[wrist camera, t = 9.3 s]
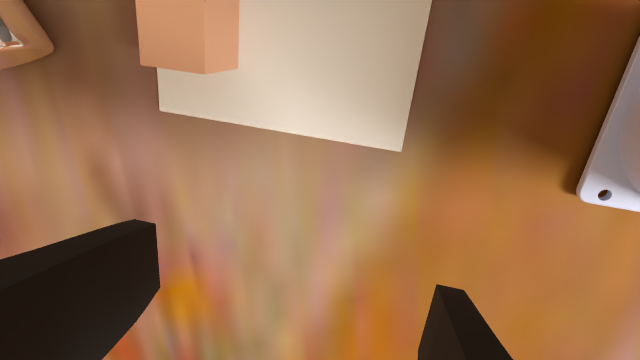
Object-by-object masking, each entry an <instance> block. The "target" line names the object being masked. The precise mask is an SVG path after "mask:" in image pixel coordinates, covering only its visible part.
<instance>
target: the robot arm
mask: <svg viewBox="0 0 640 360" xmlns="http://www.w3.org/2000/svg"><path fill="white" fill-rule="evenodd" d="M602 190H608V191H607V194H606V195H605V196H603V197H598V194H599V192H600V191H602ZM576 194H577V196H578V197H579V198H580V199H581V200H582V201H584V202H587V203H591V204H597V205H603V206H608V207H614V208H620V209H625V210H631V211H637V212H640V36H639V38H638V41H637V43H636V46H635V48H634V51H633V53H632V55H631V58H630V60H629V63H628V65H627V67H626V70H625V72H624V75H623V77H622V80H621V82H620V84H619V87H618V89H617V92H616V94H615V96H614V99H613V101H612V104H611V106H610V109H609V111H608V113H607V116H606V118H605V121H604V123H603V125H602V128H601V130H600V133H599V135H598V137H597V140H596V142H595V145H594V147H593V150H592V152H591V154H590V157H589V159H588V162H587V164H586V166H585V169H584V171H583V174H582V176H581V179H580V181H579V183H578V186H577V189H576ZM159 288H160V277H159V264H158V250H157V237H156V224H154V223H150V222H145V221H140V220H136V219H134V220H129V221H125V222H121V223H117V224H114V225H110V226H107V227H104V228H100V229H97V230H94V231H91V232H88V233H85V234H82V235H78V236H75V237H72V238H69V239H66V240H63V241H60V242H57V243H53V244H50V245H47V246H44V247H41V248H38V249H35V250H31V251H28V252H24V253H21V254H18V255H14V256H11V257H7V258H4V259H1V260H0V360H102V359H103V358H104V357H105V356H106V354H107V353H108V352H109V351H110V350H111V349H112V348H113V347H114V346H115V345H116V343H117V342H118V341H119V340H120V339H121V338H122V337H123V336H124V335H125V333H126V332H127V331H128V330H129V329H130V328H131V327H132V326H133V324H134V323H135V322H136V321H137V320H138V318H139V317H140V316H141V314H142V313H143V312H144V310H145V309H146V307H147V306H148V305H149V303H150V302H151V300H152V299H153V297H154V296H155V294H156V293H157V291H158V290H159ZM418 360H513V359H512V358H511V356H510V355H509V354H508V352H507V351H506V350H505V348H504V347H503V345H502V344H501V343H500V341H499V340H498V338H497V337H496V336H495V334H494V333H493V331H492V330H491V329H490V327H489V326H488V324H487V323H486V321H485V320H484V318H483V317H482V316H481V314H480V313H479V311H478V310H477V308H476V307H475V305H474V304H473V303H472V301H471V300H470V298H469V297H468V295H467V294H466V292H465V291H464V290H461V289H456V288H452V287H447V286H442V285H438V284H437V285H436V288H435V292H434V295H433V299H432V302H431V306H430V310H429V313H428V317H427V320H426V324H425V327H424V331H423V334H422V338H421V341H420V345H419V349H418Z"/></svg>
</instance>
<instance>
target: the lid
mask: <svg viewBox="0 0 640 360" xmlns="http://www.w3.org/2000/svg"><path fill="white" fill-rule="evenodd" d="M135 2H136V15H137V27H138V40H139V53H140V65H143V66H150V67H157V76H158V92H159V109H160V111H164V112H170V113H176V114H182V115H188V116H193V117H199V118H205V119H211V120H217V121H223V122H229V123H234V124H240V125H246V126H252V127H258V128H264V129H269V130H275V131H281V132H287V133H293V134H299V135H305V136H310V137H316V138H322V139H328V140H334V141H340V142H345V143H351V144H357V145H363V146H369V147H375V148H381V149H386V150H392V151H398V152H401V150H402V145H403V140H404V136H405V131H406V126H407V121H408V116H409V111H410V106H411V101H412V96H413V91H414V86H415V82H416V77H417V72H418V67H419V62H420V57H421V52H422V47H423V42H424V37H425V33H426V28H427V23H428V18H429V13H430V8H431V3H432V0H135Z"/></svg>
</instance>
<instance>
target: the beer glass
mask: <svg viewBox="0 0 640 360" xmlns="http://www.w3.org/2000/svg"><path fill="white" fill-rule="evenodd" d="M53 51H54V46H53V44H52V42H51V40H50V39H49V37H48V36H47V34H46V33H45V31H44V30H43V28H42V27H41V26H40V24H39V23H38V21H37V20H36V19H35V17H34V16H33V14H32V13H31V12H30V10H29V9H28V7H27V6H26V4H25V3H24V1H23V0H0V70H1V69H5V68H10V67H14V66H17V65H21V64H25V63H28V62H31V61H34V60H37V59H40V58H43V57H45V56H47V55H49V54H51V53H52V52H53Z"/></svg>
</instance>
